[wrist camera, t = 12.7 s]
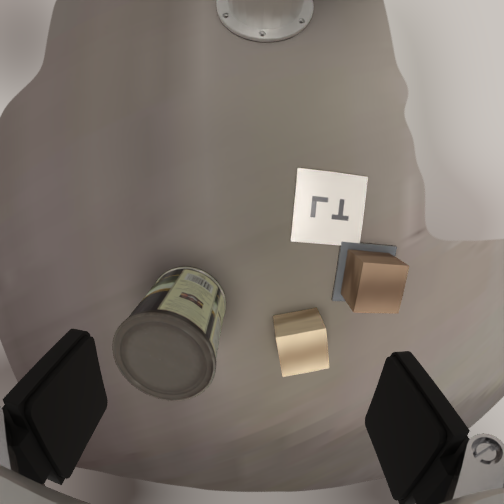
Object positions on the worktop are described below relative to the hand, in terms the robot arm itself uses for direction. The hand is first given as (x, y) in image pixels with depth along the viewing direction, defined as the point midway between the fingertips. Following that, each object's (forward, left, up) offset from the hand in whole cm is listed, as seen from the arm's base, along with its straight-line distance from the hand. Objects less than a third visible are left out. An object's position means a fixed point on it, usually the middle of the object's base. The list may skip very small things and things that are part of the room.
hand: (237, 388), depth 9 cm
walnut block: (+5, +16, -30) cm, 34 cm away
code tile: (-3, +10, -30) cm, 32 cm away
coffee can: (+11, -7, -30) cm, 33 cm away
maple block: (+14, +8, -30) cm, 34 cm away
